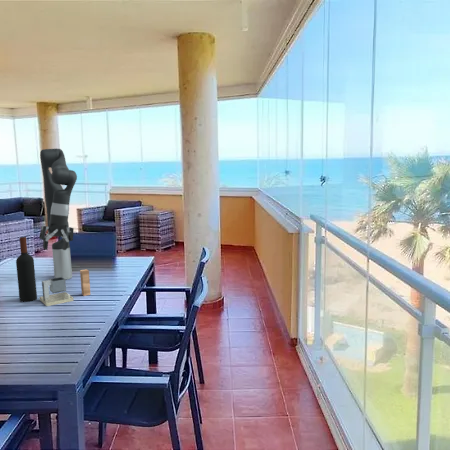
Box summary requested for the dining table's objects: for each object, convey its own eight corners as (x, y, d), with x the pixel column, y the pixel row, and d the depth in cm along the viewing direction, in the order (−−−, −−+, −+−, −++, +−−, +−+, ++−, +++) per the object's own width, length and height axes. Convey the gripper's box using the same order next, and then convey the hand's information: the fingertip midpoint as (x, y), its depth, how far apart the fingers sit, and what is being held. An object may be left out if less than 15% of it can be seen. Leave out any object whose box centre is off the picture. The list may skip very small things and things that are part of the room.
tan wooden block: (81, 294, 210) (80, 270, 208) (88, 293, 211) (86, 269, 210) (84, 295, 207) (82, 271, 205) (90, 294, 209) (88, 270, 207)
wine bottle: (18, 303, 198) (12, 239, 194) (21, 298, 206) (15, 236, 201) (35, 301, 200) (30, 237, 196) (38, 296, 208) (32, 235, 203)
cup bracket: (39, 300, 202) (37, 279, 201) (65, 294, 209) (64, 274, 208) (46, 306, 193) (44, 284, 191) (73, 300, 200) (71, 279, 198)
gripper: (71, 214, 199) (66, 248, 200) (40, 211, 189) (35, 247, 189) (78, 216, 194) (74, 251, 194) (47, 213, 183) (42, 250, 184)
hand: (55, 249), depth 192 cm, fingers open, 8 cm apart
